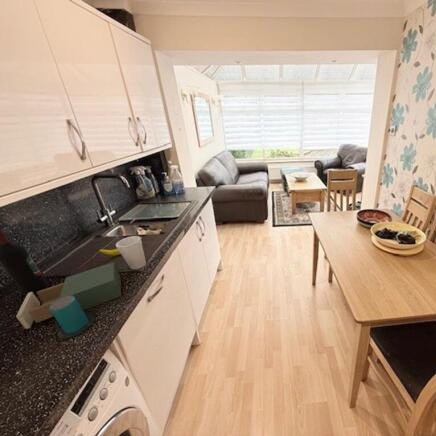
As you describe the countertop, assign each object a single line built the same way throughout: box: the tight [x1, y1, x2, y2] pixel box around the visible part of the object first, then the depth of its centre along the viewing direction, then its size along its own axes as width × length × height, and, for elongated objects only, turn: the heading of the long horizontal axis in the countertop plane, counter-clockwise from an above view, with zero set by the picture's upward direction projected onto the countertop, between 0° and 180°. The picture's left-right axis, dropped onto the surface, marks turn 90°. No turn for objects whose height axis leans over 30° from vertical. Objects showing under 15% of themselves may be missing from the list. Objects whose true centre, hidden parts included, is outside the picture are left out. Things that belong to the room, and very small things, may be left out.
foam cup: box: [115, 235, 147, 270], centre depth 108 cm, size 10×9×13 cm
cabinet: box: [59, 261, 122, 312], centre depth 93 cm, size 16×15×8 cm
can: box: [49, 296, 88, 333], centre depth 78 cm, size 6×6×10 cm
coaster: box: [56, 312, 96, 340], centre depth 80 cm, size 10×10×1 cm
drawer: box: [15, 282, 64, 330], centre depth 87 cm, size 16×14×6 cm
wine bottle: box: [0, 226, 50, 297], centre depth 93 cm, size 8×8×30 cm
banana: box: [97, 236, 143, 256], centre depth 121 cm, size 3×19×6 cm, turn 131°
